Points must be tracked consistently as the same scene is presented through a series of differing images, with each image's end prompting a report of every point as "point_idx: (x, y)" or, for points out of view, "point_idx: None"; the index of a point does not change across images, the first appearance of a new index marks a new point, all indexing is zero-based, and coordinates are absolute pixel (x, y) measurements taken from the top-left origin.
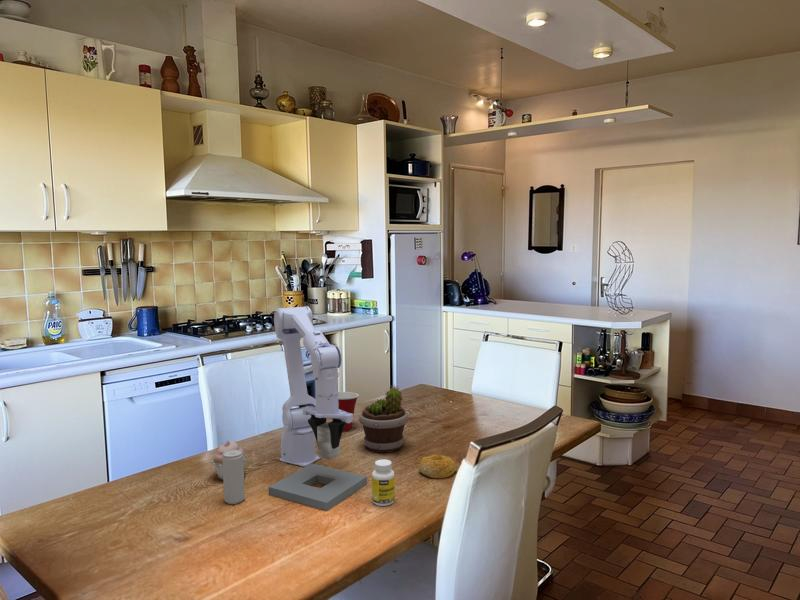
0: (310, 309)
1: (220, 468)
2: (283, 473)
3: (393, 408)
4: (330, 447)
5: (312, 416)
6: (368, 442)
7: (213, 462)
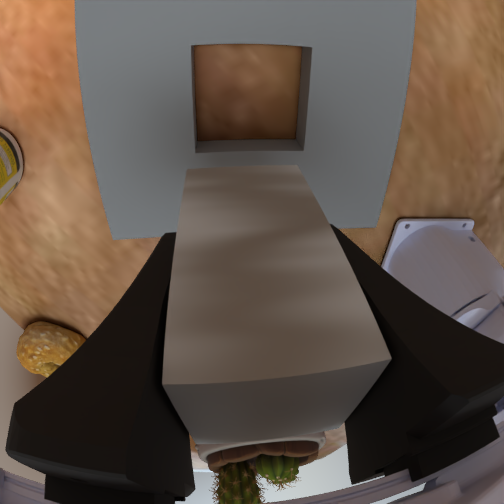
0: None
1: None
2: (439, 154)
3: (226, 477)
4: (179, 220)
5: (482, 433)
6: None
7: None
